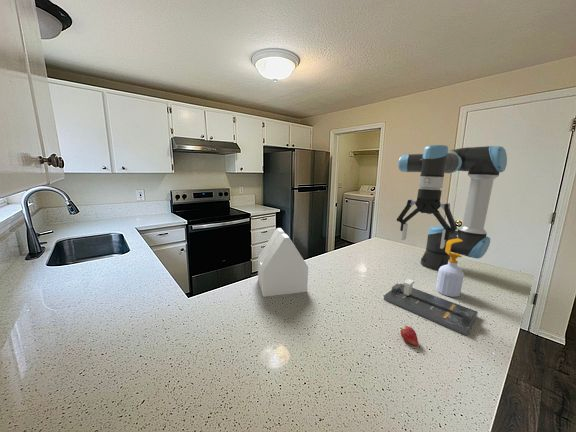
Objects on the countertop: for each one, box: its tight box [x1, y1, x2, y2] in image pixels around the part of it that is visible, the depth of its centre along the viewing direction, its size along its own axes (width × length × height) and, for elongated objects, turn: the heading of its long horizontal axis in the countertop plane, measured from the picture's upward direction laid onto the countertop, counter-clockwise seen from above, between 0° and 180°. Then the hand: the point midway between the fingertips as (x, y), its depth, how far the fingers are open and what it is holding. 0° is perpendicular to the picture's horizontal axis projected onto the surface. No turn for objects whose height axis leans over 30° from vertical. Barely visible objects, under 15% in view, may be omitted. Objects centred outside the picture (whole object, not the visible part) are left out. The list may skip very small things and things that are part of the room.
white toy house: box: [257, 227, 309, 298], centre depth 104 cm, size 19×15×25 cm
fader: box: [403, 278, 415, 296], centre depth 97 cm, size 5×2×5 cm, turn 132°
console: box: [383, 283, 479, 336], centre depth 92 cm, size 16×28×4 cm, turn 42°
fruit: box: [400, 323, 420, 347], centre depth 73 cm, size 4×6×5 cm
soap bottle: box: [435, 238, 465, 298], centre depth 102 cm, size 9×9×25 cm
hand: (421, 243), depth 91 cm, fingers open, 13 cm apart
